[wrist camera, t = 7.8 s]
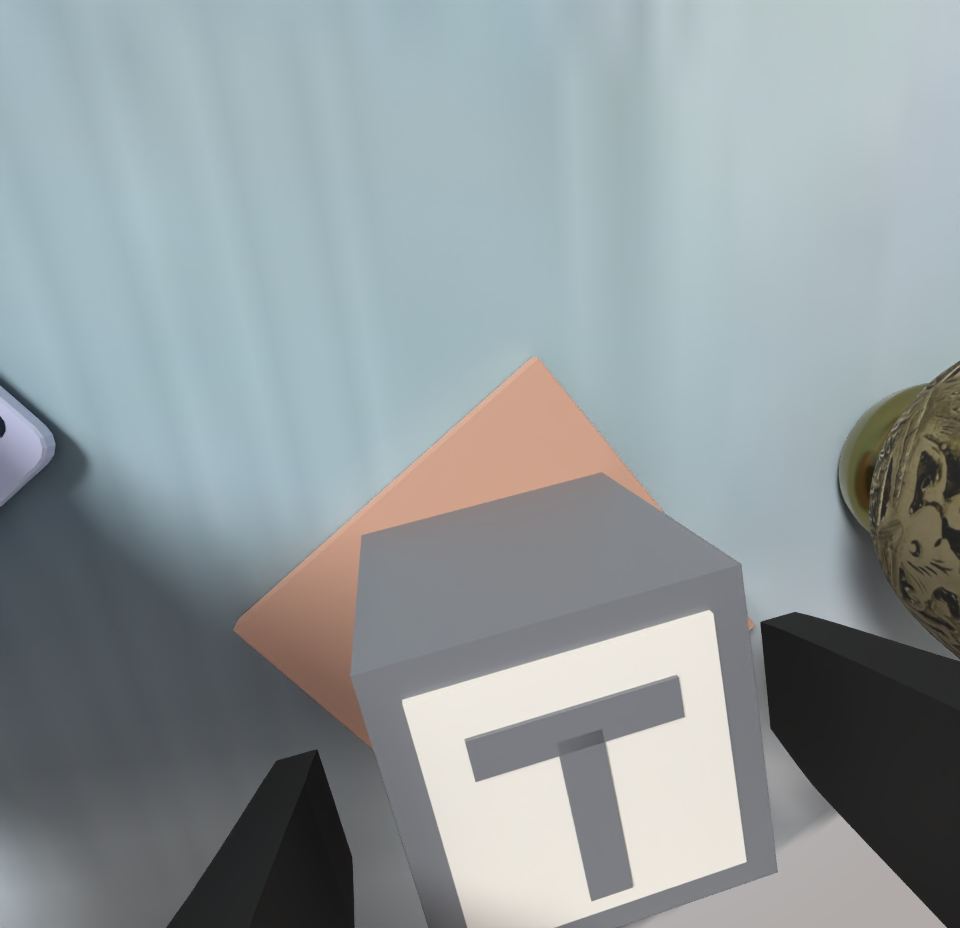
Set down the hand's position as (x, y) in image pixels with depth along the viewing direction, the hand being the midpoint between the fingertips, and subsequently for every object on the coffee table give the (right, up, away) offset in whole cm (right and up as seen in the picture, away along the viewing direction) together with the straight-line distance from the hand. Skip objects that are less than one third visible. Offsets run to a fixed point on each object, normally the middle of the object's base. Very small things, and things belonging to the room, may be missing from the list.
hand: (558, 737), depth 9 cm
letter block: (-1, +1, +3) cm, 4 cm away
